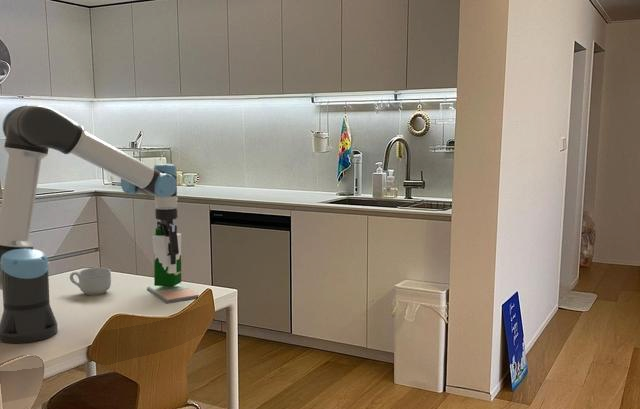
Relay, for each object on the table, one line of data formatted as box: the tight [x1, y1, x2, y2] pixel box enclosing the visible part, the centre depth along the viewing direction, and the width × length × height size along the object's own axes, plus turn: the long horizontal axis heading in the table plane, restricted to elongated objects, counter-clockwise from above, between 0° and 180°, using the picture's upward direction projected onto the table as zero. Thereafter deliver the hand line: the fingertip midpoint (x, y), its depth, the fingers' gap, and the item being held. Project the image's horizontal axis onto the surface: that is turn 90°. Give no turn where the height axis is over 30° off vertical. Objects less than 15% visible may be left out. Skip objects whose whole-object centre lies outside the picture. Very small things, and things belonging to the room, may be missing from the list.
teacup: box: [69, 267, 112, 296], centre depth 212 cm, size 14×11×8 cm
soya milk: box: [151, 228, 182, 287], centre depth 215 cm, size 9×9×20 cm
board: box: [146, 283, 200, 304], centre depth 212 cm, size 12×20×1 cm, turn 34°
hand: (167, 270), depth 215 cm, fingers closed on soya milk, 9 cm apart
